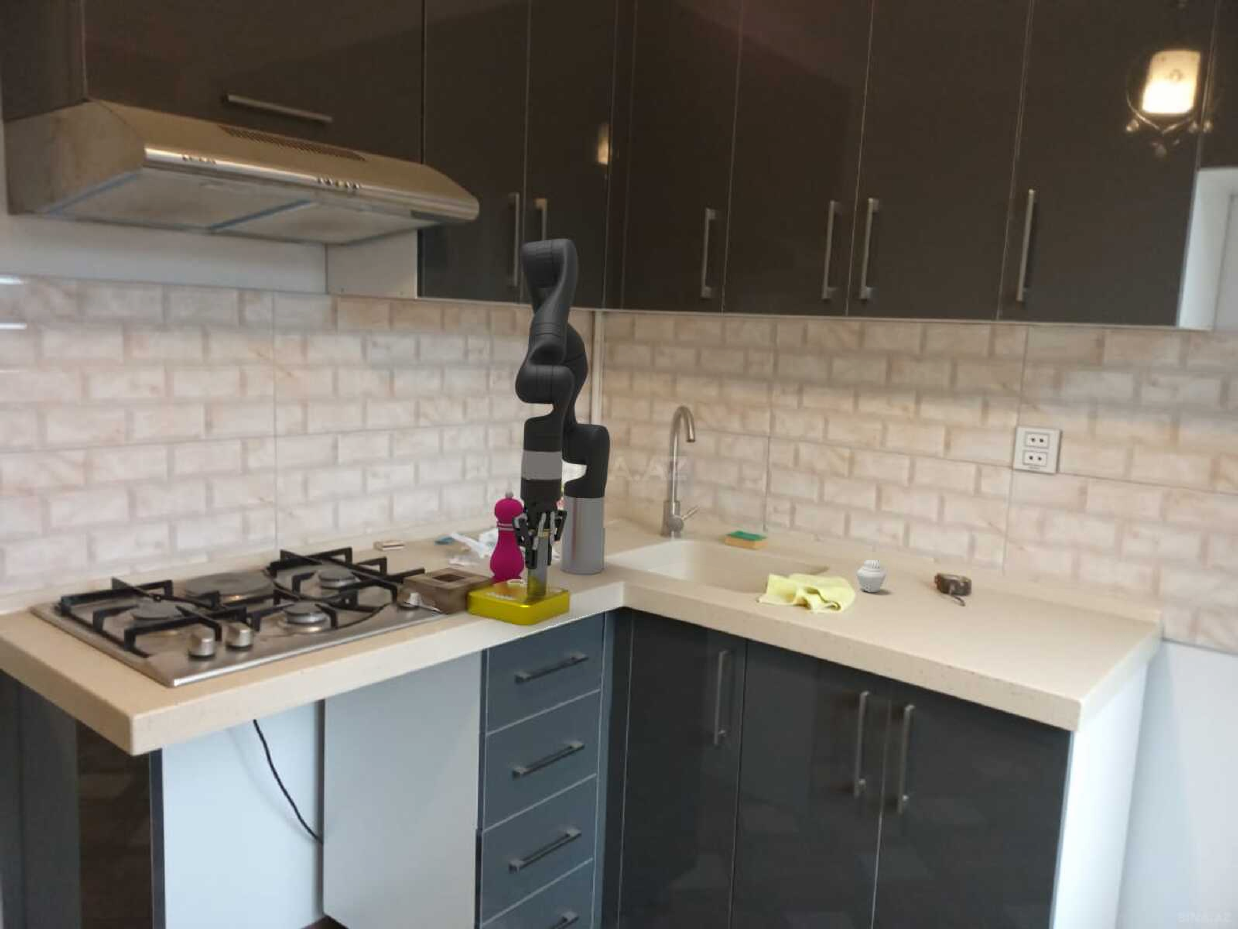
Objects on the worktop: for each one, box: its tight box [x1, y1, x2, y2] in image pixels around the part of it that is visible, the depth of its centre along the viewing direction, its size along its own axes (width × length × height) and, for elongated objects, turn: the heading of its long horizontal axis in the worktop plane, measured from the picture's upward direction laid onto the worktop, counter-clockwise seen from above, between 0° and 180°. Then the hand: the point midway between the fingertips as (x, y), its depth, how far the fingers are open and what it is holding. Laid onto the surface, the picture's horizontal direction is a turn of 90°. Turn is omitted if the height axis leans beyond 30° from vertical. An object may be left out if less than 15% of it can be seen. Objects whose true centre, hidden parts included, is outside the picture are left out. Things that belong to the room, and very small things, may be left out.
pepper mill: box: [489, 490, 525, 584], centre depth 196 cm, size 7×7×20 cm
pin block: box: [402, 567, 493, 616], centre depth 181 cm, size 12×12×5 cm
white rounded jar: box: [856, 558, 886, 593], centre depth 206 cm, size 6×6×7 cm
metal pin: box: [526, 529, 549, 597], centre depth 174 cm, size 4×4×12 cm
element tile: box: [466, 579, 571, 627], centre depth 178 cm, size 15×15×5 cm
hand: (538, 566), depth 174 cm, fingers closed on metal pin, 3 cm apart
